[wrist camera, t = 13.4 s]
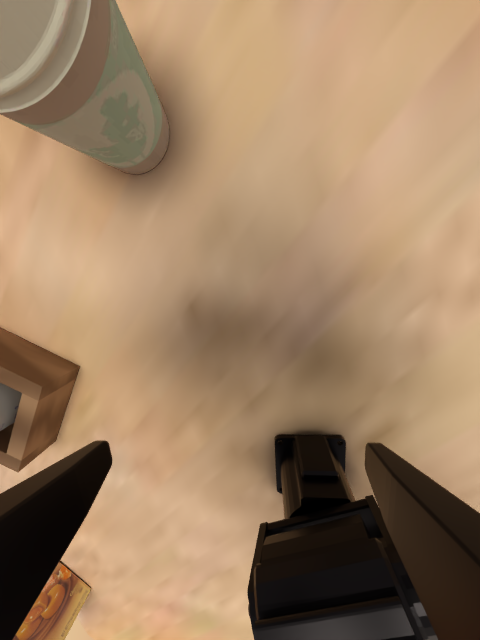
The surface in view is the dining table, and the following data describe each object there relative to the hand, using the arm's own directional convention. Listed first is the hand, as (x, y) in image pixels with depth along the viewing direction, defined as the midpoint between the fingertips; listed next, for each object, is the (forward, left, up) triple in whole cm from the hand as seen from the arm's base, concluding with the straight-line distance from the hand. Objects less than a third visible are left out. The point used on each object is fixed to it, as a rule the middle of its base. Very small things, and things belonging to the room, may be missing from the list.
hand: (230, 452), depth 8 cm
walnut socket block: (-4, +24, -13) cm, 28 cm away
